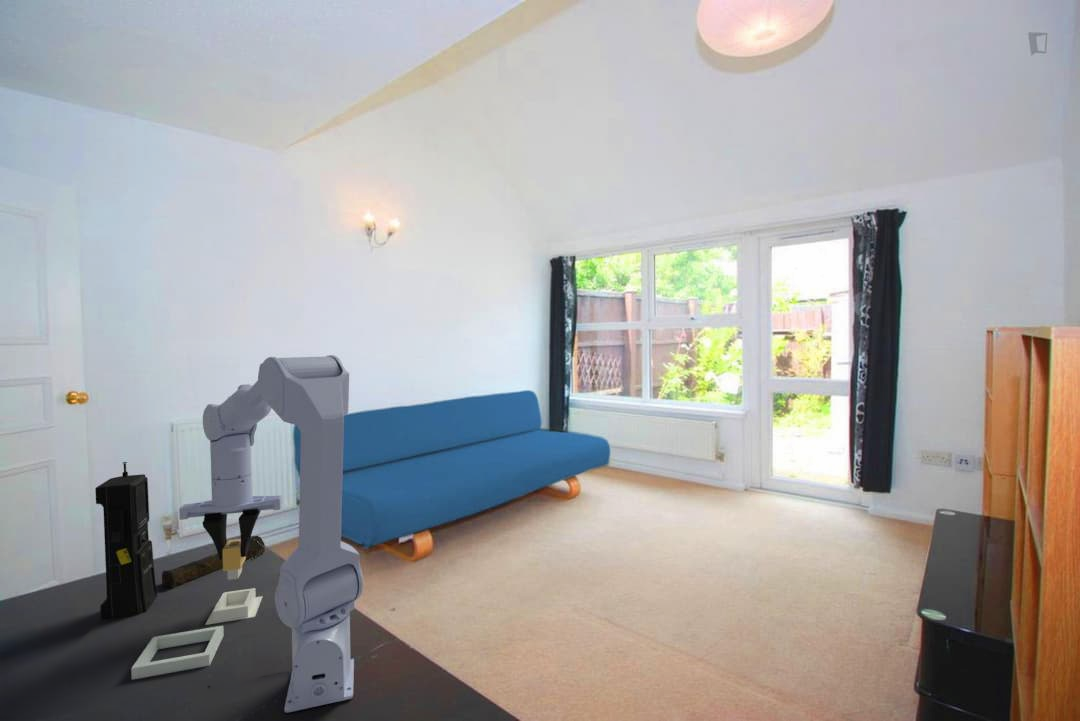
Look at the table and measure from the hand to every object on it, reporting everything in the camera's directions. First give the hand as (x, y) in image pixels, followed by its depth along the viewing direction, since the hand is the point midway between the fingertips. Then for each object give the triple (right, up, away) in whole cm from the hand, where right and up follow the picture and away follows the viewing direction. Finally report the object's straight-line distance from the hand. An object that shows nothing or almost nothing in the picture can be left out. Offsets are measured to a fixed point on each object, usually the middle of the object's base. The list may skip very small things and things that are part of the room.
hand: (234, 555), depth 85 cm
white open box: (0, -10, +1) cm, 10 cm away
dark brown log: (-13, -10, +17) cm, 24 cm away
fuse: (0, -4, +1) cm, 4 cm away
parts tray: (-1, -11, -12) cm, 16 cm away
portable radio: (-18, -10, +1) cm, 21 cm away
